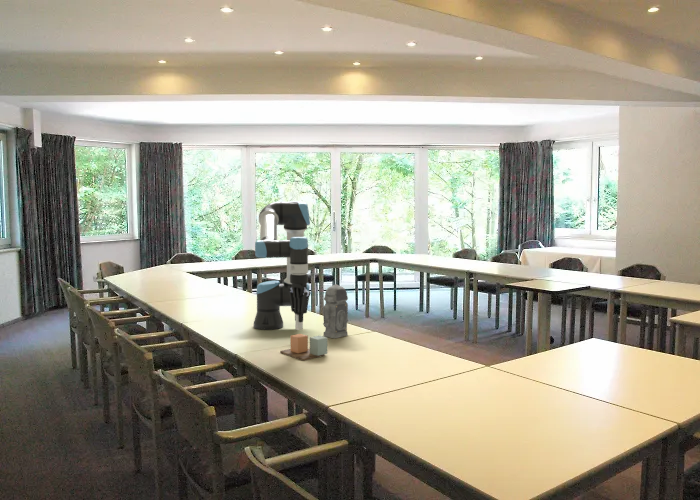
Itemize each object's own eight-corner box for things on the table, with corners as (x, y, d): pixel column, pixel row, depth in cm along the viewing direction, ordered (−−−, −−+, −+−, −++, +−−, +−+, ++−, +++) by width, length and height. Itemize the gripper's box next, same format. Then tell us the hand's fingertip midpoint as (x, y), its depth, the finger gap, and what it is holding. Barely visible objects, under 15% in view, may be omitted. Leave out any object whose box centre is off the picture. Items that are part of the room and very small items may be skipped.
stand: (280, 352, 237) (280, 350, 237) (300, 348, 244) (300, 346, 244) (303, 360, 225) (303, 358, 225) (324, 355, 232) (324, 353, 232)
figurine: (352, 334, 270) (352, 283, 268) (331, 339, 260) (331, 286, 258) (338, 331, 277) (338, 281, 275) (317, 336, 266) (317, 284, 264)
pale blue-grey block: (309, 353, 233) (309, 337, 232) (319, 351, 236) (319, 335, 236) (317, 355, 229) (317, 339, 229) (327, 353, 233) (327, 337, 232)
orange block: (290, 350, 236) (290, 335, 235) (300, 348, 239) (300, 333, 239) (298, 353, 232) (298, 337, 232) (307, 351, 236) (307, 335, 235)
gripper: (282, 273, 235) (282, 327, 237) (301, 276, 226) (301, 333, 228) (296, 271, 240) (296, 325, 242) (315, 274, 231) (315, 330, 233)
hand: (299, 329), depth 235 cm, fingers closed
